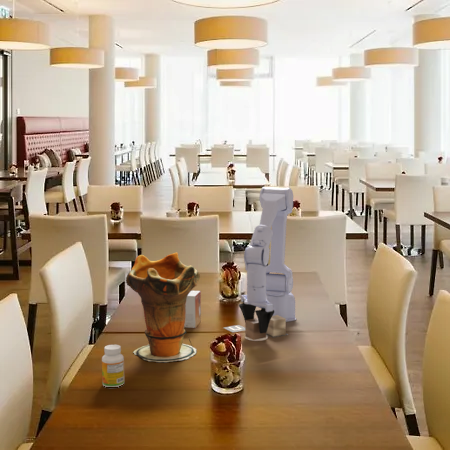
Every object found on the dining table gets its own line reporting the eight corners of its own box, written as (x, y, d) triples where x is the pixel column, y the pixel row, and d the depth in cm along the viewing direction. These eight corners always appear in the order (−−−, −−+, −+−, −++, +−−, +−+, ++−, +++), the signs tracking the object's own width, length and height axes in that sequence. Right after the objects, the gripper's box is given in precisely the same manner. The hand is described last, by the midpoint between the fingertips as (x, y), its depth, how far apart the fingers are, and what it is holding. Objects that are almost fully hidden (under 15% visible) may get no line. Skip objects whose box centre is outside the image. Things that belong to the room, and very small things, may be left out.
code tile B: (277, 330, 218) (277, 329, 218) (288, 335, 213) (288, 334, 213) (261, 333, 215) (261, 332, 215) (272, 338, 210) (272, 337, 210)
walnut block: (257, 333, 213) (257, 317, 213) (265, 337, 209) (266, 321, 209) (245, 336, 211) (245, 320, 210) (253, 339, 207) (253, 323, 207)
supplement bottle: (103, 381, 175) (102, 343, 174) (125, 380, 175) (124, 343, 174) (101, 389, 170) (100, 350, 168) (123, 388, 170) (122, 350, 169)
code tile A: (238, 325, 224) (238, 324, 224) (248, 330, 219) (248, 329, 219) (222, 328, 221) (222, 327, 221) (232, 332, 216) (232, 332, 215)
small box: (195, 328, 220) (195, 296, 219) (178, 327, 221) (178, 295, 220) (201, 321, 228) (201, 290, 227) (184, 320, 229) (184, 289, 228)
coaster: (259, 333, 215) (259, 331, 215) (272, 339, 209) (272, 337, 209) (240, 336, 212) (240, 335, 212) (252, 342, 206) (252, 341, 206)
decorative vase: (146, 370, 181) (143, 264, 179) (118, 350, 202) (114, 254, 199) (218, 358, 191) (215, 257, 188) (183, 340, 211) (181, 248, 209)
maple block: (277, 330, 217) (277, 315, 216) (285, 334, 213) (285, 318, 212) (265, 332, 215) (265, 317, 214) (273, 336, 211) (273, 320, 210)
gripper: (232, 282, 212) (232, 325, 214) (258, 292, 200) (258, 337, 202) (251, 279, 216) (251, 322, 218) (278, 289, 204) (278, 334, 205)
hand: (256, 329), depth 210 cm, fingers open, 7 cm apart
